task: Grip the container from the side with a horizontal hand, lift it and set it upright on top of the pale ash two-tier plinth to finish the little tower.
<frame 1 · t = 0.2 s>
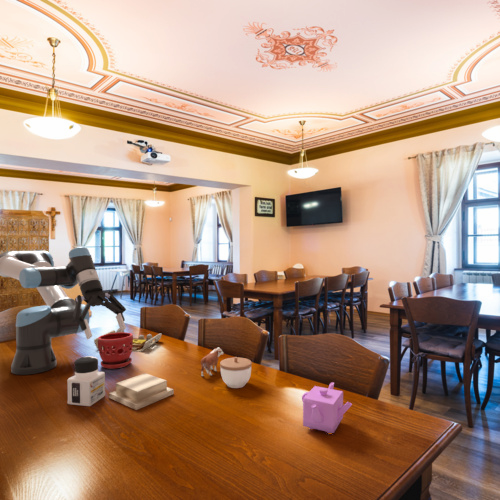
hand: (107, 333, 133), 15 cm above the table, tool tilted 35°, fingers open, 13 cm apart
plant pot: (115, 365, 144), on the table
plinth: (141, 395, 114), on the table
bull figurine: (211, 372, 136), on the table
container: (86, 400, 111), on the table
teapot: (326, 427, 95), on the table
toy food set: (129, 346, 172), on the table
lidded jar: (235, 385, 124), on the table
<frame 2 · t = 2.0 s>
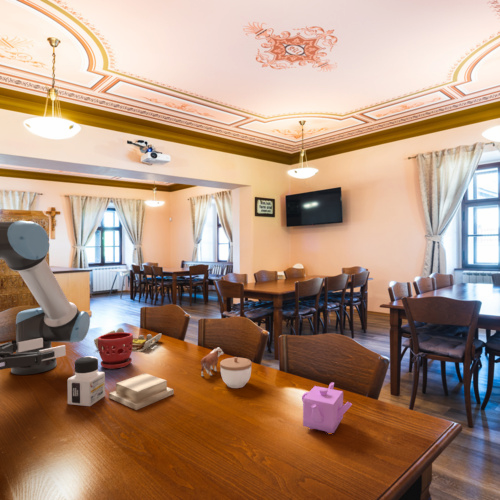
hand: (53, 346, 103), 19 cm above the table, tool horizontal, fingers open, 13 cm apart
nothing on the table moved.
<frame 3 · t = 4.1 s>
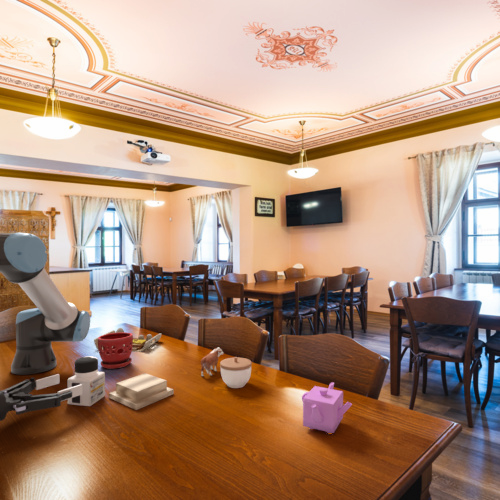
hand: (70, 383, 107), 7 cm above the table, tool horizontal, fingers open, 13 cm apart
nothing on the table moved.
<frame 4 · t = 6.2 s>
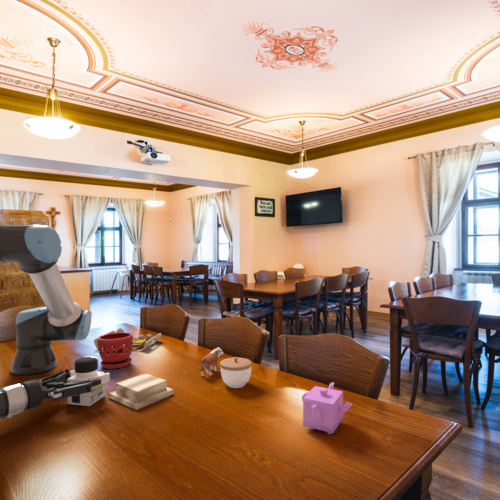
hand: (99, 373, 115), 7 cm above the table, tool horizontal, fingers closed on container, 10 cm apart
container: (86, 400, 111), on the table, touching gripper
everything else where it was.
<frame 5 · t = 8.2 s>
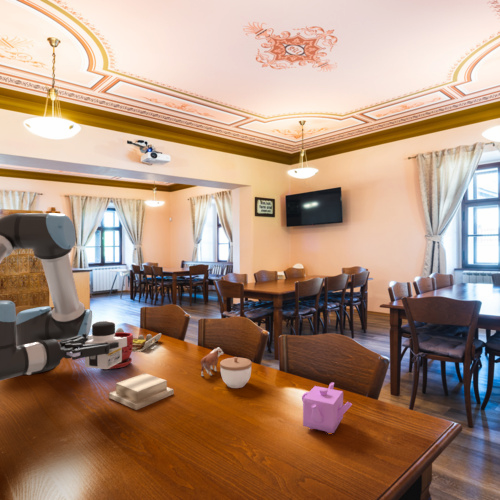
hand: (116, 338, 114), 18 cm above the table, tool horizontal, fingers closed on container, 10 cm apart
container: (103, 365, 111), point 11 cm above the table, touching gripper
everything else where it was.
when the fingers open (12 cm above the table, at t = 10.4 s): container stays where it is, resting on plinth.
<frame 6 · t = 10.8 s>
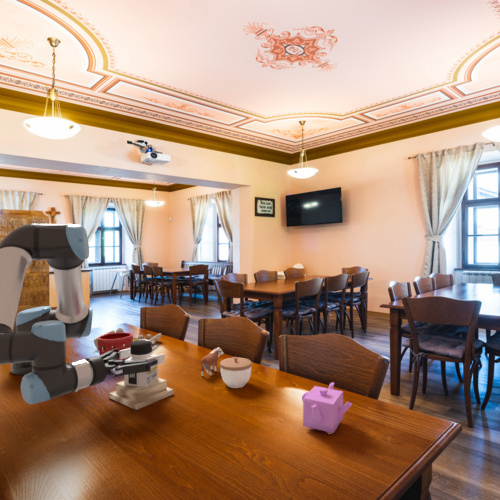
hand: (150, 354, 117), 12 cm above the table, tool horizontal, fingers open, 13 cm apart
container: (141, 382, 114), point 4 cm above the table, touching plinth
everything else where it was.
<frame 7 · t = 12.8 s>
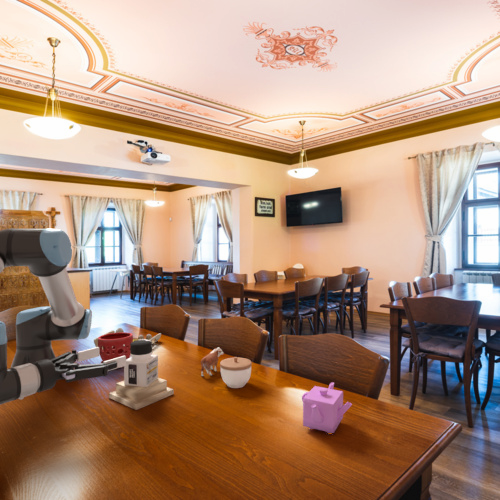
hand: (111, 355, 107), 15 cm above the table, tool horizontal, fingers open, 13 cm apart
nothing on the table moved.
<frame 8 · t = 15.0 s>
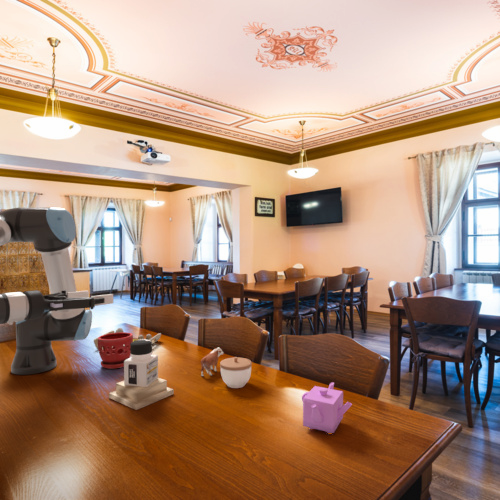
hand: (100, 296, 110), 32 cm above the table, tool horizontal, fingers open, 13 cm apart
nothing on the table moved.
at the end: container inside the target area on the plinth (0.1 cm from its centre), point 4.3 cm above the plinth's base; container tilted 0°; the gripper is holding nothing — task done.
